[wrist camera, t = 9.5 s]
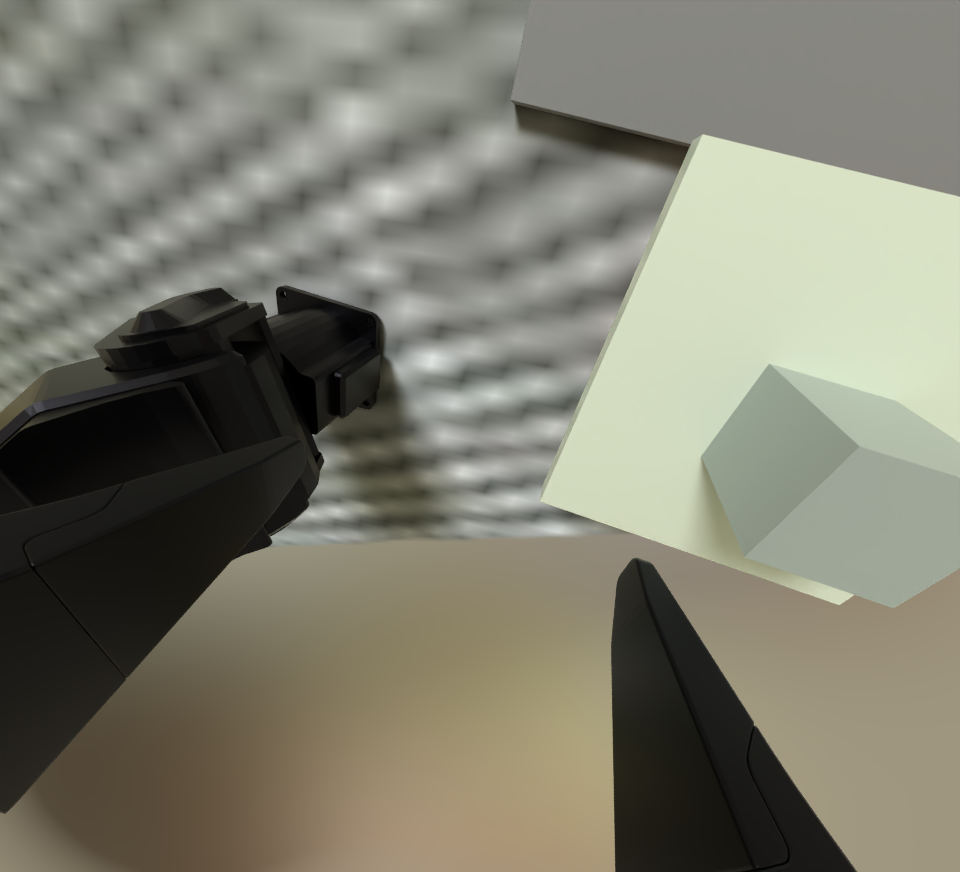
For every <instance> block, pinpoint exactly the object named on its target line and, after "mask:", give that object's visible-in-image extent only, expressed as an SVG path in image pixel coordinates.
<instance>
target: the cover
mask: <svg viewBox="0 0 960 872" xmlns="http://www.w3.org/2000/svg"><path fill="white" fill-rule="evenodd" d="M540 502H543V503H546V504H549V505H552V506H555V507H558V508H560V509H563V510H566V511H569V512H572V513H575V514H578V515H581V516H584V517H586V518H589V519H592V520H595V521H598V522H601V523H604V524H607V525H610V526H612V527H615V528H618V529H621V530H624V531H627V532H630V533H633V534H636V535H638V536H641V537H644V538H647V539H650V540H653V541H656V542H659V543H662V544H664V545H667V546H670V547H673V548H676V549H679V550H682V551H685V552H687V553H690V554H693V555H696V556H699V557H702V558H705V559H708V560H711V561H713V562H716V563H719V564H722V565H725V566H728V567H731V568H734V569H737V570H739V571H743V572H745V573H748V574H751V575H754V576H757V577H760V578H763V579H765V580H768V581H771V582H774V583H777V584H780V585H783V586H786V587H788V588H792V589H794V590H797V591H800V592H803V593H806V594H809V595H812V596H814V597H817V598H820V599H823V600H826V601H829V602H832V603H835V604H838V605H840V604H841V603H843V602H844V601H846V600H847V599H849V598H850V597H852V596H853V595H856V596H859V597H862V598H865V599H868V600H871V601H874V602H877V603H880V604H883V605H886V606H889V607H891V608H895V607H896V606H898V605H899V604H901V603H903V602H905V601H906V600H908V599H910V598H911V597H913V596H915V595H916V594H918V593H919V592H921V591H923V590H925V589H926V588H928V587H930V586H931V585H933V584H934V583H936V582H938V581H939V580H941V579H943V578H944V577H946V576H948V575H949V574H951V573H953V572H954V571H956V570H958V569H959V568H960V197H959V196H955V195H950V194H946V193H942V192H938V191H934V190H930V189H926V188H922V187H918V186H913V185H909V184H905V183H901V182H897V181H893V180H889V179H885V178H881V177H876V176H872V175H868V174H864V173H860V172H856V171H852V170H848V169H844V168H839V167H835V166H831V165H827V164H823V163H819V162H815V161H811V160H807V159H802V158H798V157H794V156H790V155H786V154H782V153H778V152H774V151H770V150H765V149H761V148H757V147H753V146H749V145H745V144H741V143H737V142H733V141H728V140H724V139H720V138H716V137H712V136H708V135H704V134H702V135H701V136H699V137H697V138H696V139H694V140H693V141H692V143H691V145H690V148H689V150H688V152H687V154H686V157H685V159H684V161H683V164H682V166H681V168H680V171H679V173H678V175H677V177H676V180H675V182H674V184H673V187H672V189H671V191H670V194H669V196H668V198H667V201H666V203H665V205H664V207H663V210H662V212H661V214H660V217H659V219H658V221H657V224H656V226H655V228H654V230H653V233H652V235H651V237H650V240H649V242H648V244H647V247H646V249H645V251H644V254H643V256H642V258H641V260H640V263H639V265H638V267H637V270H636V272H635V274H634V277H633V279H632V281H631V283H630V286H629V288H628V290H627V293H626V295H625V297H624V300H623V302H622V304H621V306H620V309H619V311H618V313H617V316H616V318H615V320H614V323H613V325H612V327H611V330H610V332H609V334H608V336H607V339H606V341H605V343H604V346H603V348H602V350H601V353H600V355H599V357H598V359H597V362H596V364H595V366H594V369H593V371H592V373H591V376H590V378H589V380H588V382H587V385H586V387H585V389H584V392H583V394H582V396H581V399H580V401H579V403H578V406H577V408H576V410H575V412H574V415H573V417H572V419H571V422H570V424H569V426H568V429H567V431H566V433H565V435H564V438H563V440H562V442H561V445H560V447H559V449H558V452H557V454H556V456H555V458H554V461H553V463H552V465H551V468H550V470H549V472H548V475H547V477H546V479H545V482H544V484H543V487H542V493H541V498H540Z"/></svg>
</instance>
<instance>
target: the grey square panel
mask: <svg viewBox="0 0 960 872" xmlns="http://www.w3.org/2000/svg"><path fill="white" fill-rule="evenodd" d="M511 101H512V102H513V103H514V104H515V105H519V106H524V107H528V108H532V109H536V110H540V111H544V112H548V113H552V114H556V115H560V116H564V117H568V118H572V119H576V120H580V121H584V122H588V123H592V124H596V125H601V126H605V127H609V128H613V129H617V130H621V131H625V132H629V133H633V134H637V135H641V136H645V137H649V138H653V139H657V140H661V141H665V142H669V143H674V144H678V145H682V146H686V147H690V145H691V143H692V141H693V140H694V139H696V138H697V137H699V136H701V135H702V134H704V135H708V136H712V137H716V138H720V139H724V140H728V141H733V142H737V143H741V144H745V145H749V146H753V147H757V148H761V149H765V150H770V151H774V152H778V153H782V154H786V155H790V156H794V157H798V158H802V159H807V160H811V161H815V162H819V163H823V164H827V165H831V166H835V167H839V168H844V169H848V170H852V171H856V172H860V173H864V174H868V175H872V176H876V177H881V178H885V179H889V180H893V181H897V182H901V183H905V184H909V185H913V186H918V187H922V188H926V189H930V190H934V191H938V192H942V193H946V194H950V195H955V196H959V197H960V0H530V5H529V10H528V15H527V20H526V25H525V30H524V35H523V40H522V45H521V50H520V55H519V61H518V66H517V71H516V76H515V81H514V86H513V91H512V96H511Z"/></svg>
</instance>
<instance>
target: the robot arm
mask: <svg viewBox="0 0 960 872" xmlns="http://www.w3.org/2000/svg"><path fill="white" fill-rule="evenodd" d="M284 292H285V293H286V294H287V297H286V296H285V294H284ZM276 298H277V307H278V314H277V315H274V316H272V317H269V318H266V317H265V316H266V315H267V313H266V310H265V308H264V305H263V303H262V302H260V303H247V301H238V299H234V298H233V297H232V296H231V295H229V294H228V293H227V292H226V291H224V290H223V289H222V288H210V289H205V290H201V291H196V292H192V293H188V294H183V295H180V296H176V297H172V298H169V299H167V300H164V301H162V302H160V303H158V304H156V305H153V306H151V307H149V308H147V309H145V310H142V311H140V312H139V313H138V315H137V317H135V318H132V319H129V320H128V321H127V322H125V323H124V324H123V325H121V326H120V327H119V328H117V329H116V330H114V331H113V332H112V333H110V334H109V335H108V336H106V337H105V338H104V339H102V340H101V341H99V342H98V343H97V344H95V346H94V348H95V349H96V351H97V352H98V354H99V355H100V357H97V358H93V359H90V360H86V361H82V362H78V363H74V364H70V365H66V366H62V367H58V368H54V369H52V370H49V371H47V372H45V373H44V374H43V375H41V376H40V377H39V378H38V379H37V380H36V381H35V382H34V383H32V384H31V385H30V386H29V387H28V388H27V389H26V390H25V391H24V392H23V393H21V394H20V395H19V396H18V397H17V398H16V399H15V400H14V401H13V402H12V403H11V404H9V405H8V406H7V407H6V408H5V409H4V410H3V411H2V412H1V413H0V813H3V814H5V813H7V812H8V811H9V810H10V809H11V808H12V807H13V806H14V805H15V804H16V803H17V801H19V800H20V798H21V797H22V796H23V795H24V794H25V793H26V792H27V791H28V789H29V788H30V787H31V786H32V785H33V784H34V783H35V782H36V780H37V779H38V778H39V777H40V776H41V775H42V774H43V773H44V771H45V770H46V769H47V768H48V767H49V766H50V765H51V764H52V762H53V761H54V760H55V759H56V758H57V757H58V756H59V755H60V753H61V752H62V751H63V750H64V749H65V748H66V747H67V746H68V744H69V743H70V742H71V741H72V740H73V739H74V737H76V735H77V734H78V733H79V732H80V731H81V730H82V729H83V728H84V727H85V725H86V724H87V723H88V722H89V721H90V720H91V719H92V717H93V716H94V715H95V714H96V713H97V712H98V711H99V710H100V709H101V707H102V706H103V705H104V704H105V703H106V702H107V700H108V699H109V698H110V697H111V696H112V695H113V694H114V693H115V692H116V691H117V689H118V688H119V687H120V686H121V685H122V684H123V682H124V681H125V680H126V678H127V677H128V676H129V675H130V674H131V673H132V672H133V671H134V670H135V669H136V668H137V667H138V665H139V664H140V663H141V662H142V661H143V660H144V659H145V657H146V656H147V655H148V654H149V653H150V652H151V651H152V649H154V647H155V646H156V645H157V644H158V643H159V642H160V641H161V640H162V638H163V637H164V636H165V635H166V634H167V633H168V631H170V629H171V628H172V627H173V626H174V625H175V624H176V623H177V621H178V620H179V619H180V618H181V617H182V616H183V615H184V614H185V613H186V611H187V610H188V609H189V608H190V607H191V606H192V605H193V603H194V602H195V601H196V600H197V599H198V598H199V597H200V595H201V594H202V593H203V592H204V591H205V590H206V589H207V588H208V587H209V586H210V584H211V583H212V582H213V581H214V580H215V579H216V578H217V577H218V575H219V574H220V573H221V572H222V571H223V570H224V569H225V568H226V566H227V565H228V564H229V563H230V562H231V561H232V560H234V559H236V558H238V557H240V556H242V555H245V554H247V553H251V552H254V551H257V550H260V549H263V548H266V547H268V546H270V545H271V544H272V540H271V538H270V536H272V535H274V534H276V533H277V532H279V531H281V530H282V529H284V528H285V527H286V526H288V525H289V524H290V523H291V522H292V521H294V520H295V519H296V518H298V517H299V516H300V515H301V514H302V513H303V512H304V511H305V510H306V509H307V508H308V506H309V502H308V498H309V497H310V496H311V494H312V493H313V491H314V490H315V488H316V486H317V485H318V481H319V475H320V470H321V468H322V465H323V463H324V459H323V456H322V454H321V452H319V451H318V449H317V446H316V444H315V441H314V439H313V436H312V434H315V435H316V434H318V433H319V432H320V431H321V430H322V429H324V428H325V427H326V426H327V425H328V424H330V423H331V422H332V421H333V420H334V419H335V418H337V417H339V418H341V419H342V418H344V417H346V416H348V415H349V414H350V413H351V412H352V411H353V410H354V409H356V408H357V407H361V408H364V409H371V408H372V407H373V406H374V405H375V403H376V390H377V389H378V388H379V380H380V363H381V353H380V351H379V332H380V320H379V318H378V316H377V315H376V314H375V313H373V312H370V311H367V310H364V309H361V308H357V307H354V306H351V305H348V304H344V303H341V302H338V301H335V300H332V299H328V298H325V297H322V296H319V295H316V294H312V293H309V292H306V291H303V290H300V289H296V288H293V287H290V286H281V287H278V288H277V290H276ZM368 318H370V319H371V320H372V322H373V325H371V324H370V323H369V321H368ZM366 400H368V401H369V403H367V402H366ZM611 664H612V665H611V666H612V719H613V769H614V770H613V772H614V823H615V872H857V871H856V870H855V868H854V867H853V866H852V864H851V863H850V862H849V860H848V859H847V857H846V856H845V854H844V853H843V852H842V850H841V849H840V848H839V846H838V845H837V843H836V842H835V841H834V839H833V838H832V836H831V835H830V834H829V832H828V831H827V830H826V828H825V827H824V825H823V824H822V823H821V821H820V820H819V818H818V817H817V815H816V814H815V813H814V811H813V810H812V808H811V807H810V806H809V804H808V803H807V801H806V800H805V798H804V797H803V795H802V794H801V793H800V791H799V790H798V788H797V787H796V786H795V784H794V783H793V781H792V780H791V778H790V777H789V775H788V773H787V772H786V771H785V769H784V768H783V766H782V764H781V763H780V761H779V760H778V758H777V757H776V755H775V754H774V752H773V751H772V749H771V748H770V746H769V745H768V743H767V742H766V740H765V738H764V737H763V735H762V734H761V732H760V731H759V729H758V728H757V727H756V726H754V722H753V720H752V718H751V717H750V715H749V714H748V712H747V711H746V709H745V708H744V706H743V704H742V703H741V701H740V700H739V698H738V697H737V695H736V693H735V692H734V690H733V689H732V687H731V686H730V684H729V683H728V681H727V679H726V678H725V676H724V675H723V673H722V672H721V670H720V669H719V667H718V665H717V664H716V662H715V661H714V660H713V658H712V656H711V654H710V653H709V651H708V650H707V648H706V647H705V645H704V644H703V642H702V640H701V639H700V637H699V636H698V634H697V633H696V631H695V630H694V628H693V626H692V625H691V623H690V622H689V620H688V619H687V617H686V615H685V614H684V612H683V611H682V609H681V608H680V606H679V605H678V603H677V601H676V600H675V598H674V597H673V595H672V594H671V592H670V591H669V589H668V587H667V586H666V584H665V583H664V581H663V580H662V578H661V576H660V575H659V573H658V572H657V570H656V569H655V567H654V566H653V565H652V564H651V563H650V562H648V561H645V560H642V559H639V558H633V559H632V560H631V561H630V562H629V564H628V565H627V566H626V568H625V569H624V570H623V572H622V573H621V574H620V576H619V578H618V581H617V587H616V598H615V608H614V619H613V630H612V642H611Z"/></svg>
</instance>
